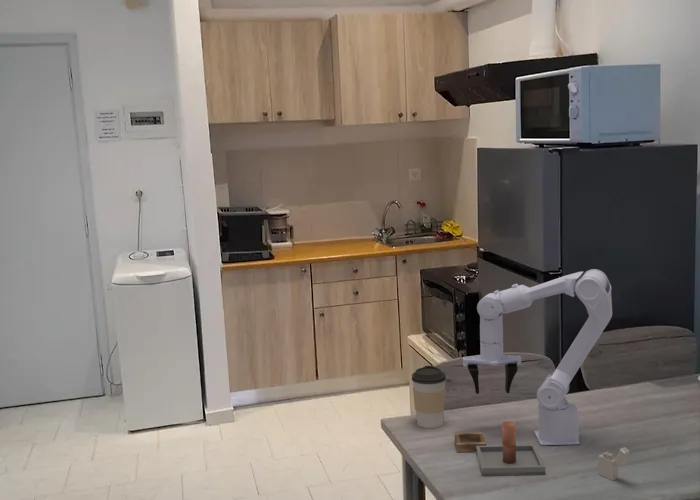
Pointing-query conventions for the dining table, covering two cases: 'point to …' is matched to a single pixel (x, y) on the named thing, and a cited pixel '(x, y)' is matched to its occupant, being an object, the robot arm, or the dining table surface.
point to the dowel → (509, 442)
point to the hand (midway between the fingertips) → (492, 392)
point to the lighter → (611, 463)
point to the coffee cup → (429, 396)
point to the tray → (524, 465)
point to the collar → (469, 437)
